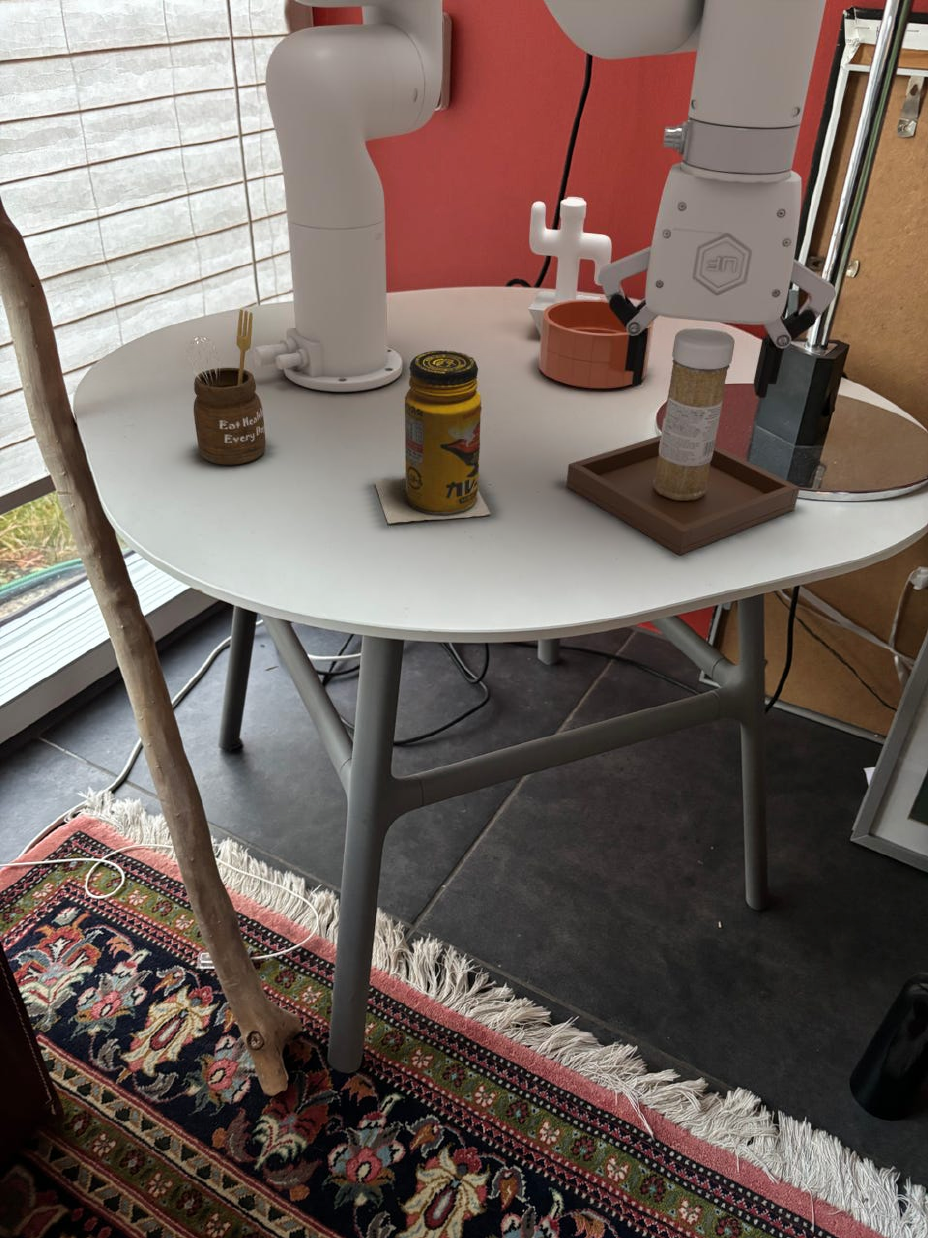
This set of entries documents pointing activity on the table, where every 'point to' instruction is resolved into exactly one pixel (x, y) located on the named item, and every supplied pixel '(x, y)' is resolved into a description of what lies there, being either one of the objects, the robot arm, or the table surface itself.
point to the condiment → (438, 443)
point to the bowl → (586, 345)
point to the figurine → (566, 252)
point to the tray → (681, 526)
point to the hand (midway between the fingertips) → (697, 385)
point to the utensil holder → (229, 408)
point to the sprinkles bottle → (692, 412)
